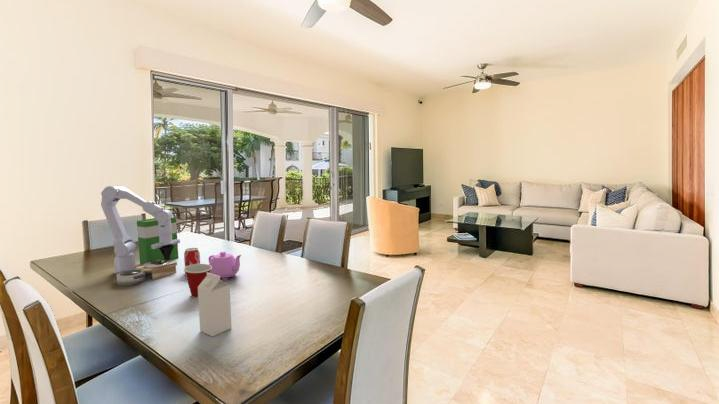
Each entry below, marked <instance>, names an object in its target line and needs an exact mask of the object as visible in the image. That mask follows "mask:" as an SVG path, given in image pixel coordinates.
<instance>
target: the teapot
mask: <svg viewBox="0 0 719 404" xmlns="http://www.w3.org/2000/svg"><path fill="white" fill-rule="evenodd" d="M241 256H242V254H238V255H237V256H236V257H235V256H234V255H233V253H227V252H226V251H221V252H219V254H216V255H214V254H212V255H210V256H209V257H208V265H211V266H212V269H211V270H210V273H211V274H214V275H217V276H220V279H221V280H222V281H223V282H226V281H228V278H230V277H231V278H233V277H234V278H235V277H237V275H236V274H237V273H239V271H240V266H241V263H240V258H241Z"/></svg>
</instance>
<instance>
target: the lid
mask: <svg viewBox="0 0 719 404" xmlns="http://www.w3.org/2000/svg"><path fill="white" fill-rule="evenodd" d="M168 262H169V261H158V260H151V262H149V263H146V264H144V267H145V268H157V267H161V266H165V265H167V264H168Z"/></svg>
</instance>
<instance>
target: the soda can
mask: <svg viewBox="0 0 719 404" xmlns="http://www.w3.org/2000/svg"><path fill="white" fill-rule="evenodd" d="M183 255H184V256H183V259H184V267H186V266H189V265H193V264H201V253H200V251H199V249H198V247H189V248H186V249H185V251H184V253H183Z"/></svg>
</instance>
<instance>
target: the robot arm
mask: <svg viewBox="0 0 719 404" xmlns="http://www.w3.org/2000/svg"><path fill="white" fill-rule="evenodd" d="M100 195H101V202H100V206H101V209H102V212H103V213H104V216H105V217H106V221H107V223H108V226H109V228H110V230H111V233H112V235H113V237H114V240H113V243H112V244H113V248H114V249H113V252H114V254H115V255H116V256H114V259H113V264H114V265H113V266H114V268H113V269H114V271H112V273H113V274H114V275H116V273H117V272H121V271H124V270H133V269H135V266H136V256H135V255H136V254H135V251H136V250H137V244H136V242H135V241H133V239H132V237H131V236H129V235H128V233H127V231H126V228H125V226H124V224H123V221H122V218H121V217H120V214H119V210H118V209H117V206H116V205H117V204H118V203H119V201H120V200H128V201H130V202H132V203H133V204H136V205H137V206H140V207H141V208H142V211H143V212H145V213H147V214H148V215H150V216H152V217H154V218H156V220H157V221H158V227H159V243H156V244H153V245H151V249H156V248H159V249H160V251H161V252H162V254H163V256H164V259H165V260H169V261H171V260H170V255H171V252H172V250H173V248H174V245H172V244H176V243H178V244H180V243H181V239H179V238H177V239H175V240H172V228H171V218H173V212H172V211H171V210H170V209H169V208H165V207H163V206H160V205H158V204H157V202H156V201H151V200H149V201H147V200H145V199H144V198H142V197H140V196H139V195H138V194H136V193H135V192H133V191H131V190H130V189H129V188H127V187H125V186H124V185H121V184H116V185H109V186H105V187H104V188H103V190H102V191H101V192H100Z"/></svg>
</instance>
